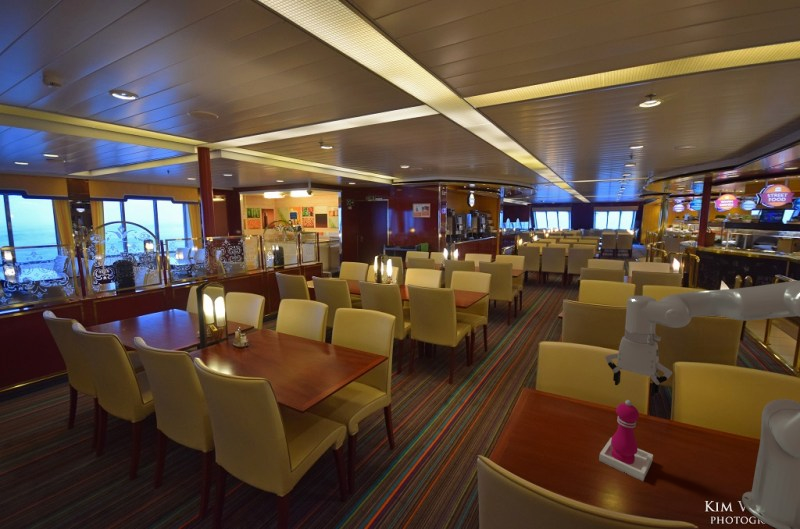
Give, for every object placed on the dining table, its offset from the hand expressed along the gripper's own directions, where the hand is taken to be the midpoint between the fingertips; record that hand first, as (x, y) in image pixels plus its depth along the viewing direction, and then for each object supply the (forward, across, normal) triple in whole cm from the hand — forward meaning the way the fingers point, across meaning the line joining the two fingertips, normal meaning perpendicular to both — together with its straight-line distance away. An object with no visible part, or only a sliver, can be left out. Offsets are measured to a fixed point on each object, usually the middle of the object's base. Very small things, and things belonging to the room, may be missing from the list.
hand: (634, 389), depth 108 cm
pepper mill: (+24, +2, 0) cm, 25 cm away
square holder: (+25, +1, 0) cm, 25 cm away
